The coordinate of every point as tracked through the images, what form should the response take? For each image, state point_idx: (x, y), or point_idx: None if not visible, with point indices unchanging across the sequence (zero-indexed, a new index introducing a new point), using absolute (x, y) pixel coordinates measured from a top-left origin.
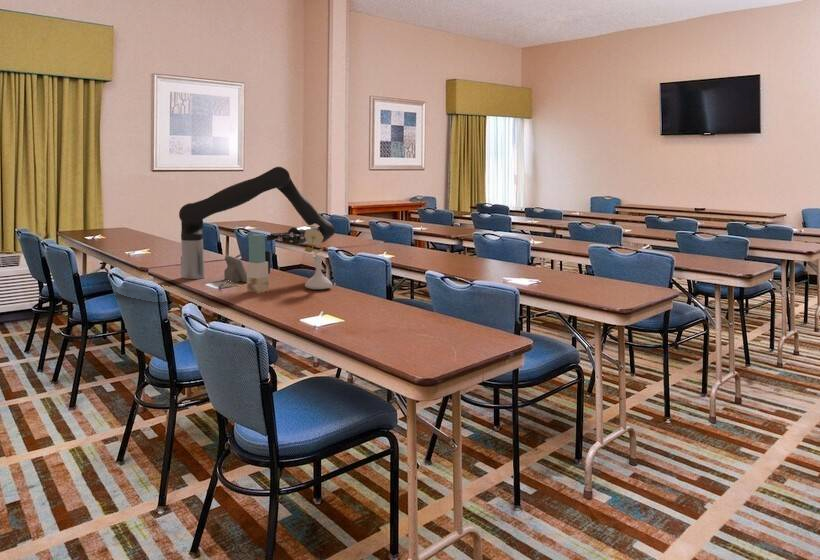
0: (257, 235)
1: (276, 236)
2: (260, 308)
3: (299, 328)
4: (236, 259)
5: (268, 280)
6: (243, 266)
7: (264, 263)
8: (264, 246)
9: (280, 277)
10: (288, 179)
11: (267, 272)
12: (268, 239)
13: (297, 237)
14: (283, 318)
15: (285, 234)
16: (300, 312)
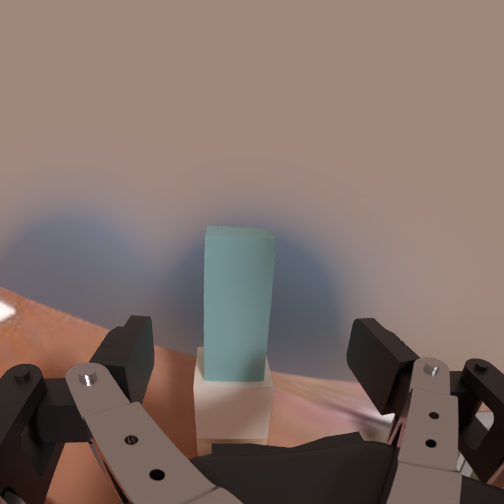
0: (212, 227)
1: (488, 444)
2: (93, 337)
3: (13, 294)
4: (479, 411)
5: (197, 449)
6: (458, 454)
7: (195, 374)
8: (204, 304)
9: None
10: None
11: (195, 421)
12: (348, 354)
13: (16, 450)
14: (37, 312)
15: (340, 472)
16: (17, 333)
